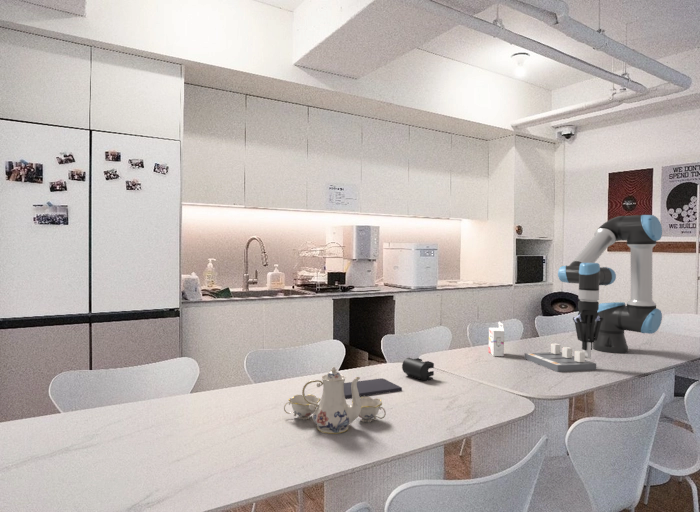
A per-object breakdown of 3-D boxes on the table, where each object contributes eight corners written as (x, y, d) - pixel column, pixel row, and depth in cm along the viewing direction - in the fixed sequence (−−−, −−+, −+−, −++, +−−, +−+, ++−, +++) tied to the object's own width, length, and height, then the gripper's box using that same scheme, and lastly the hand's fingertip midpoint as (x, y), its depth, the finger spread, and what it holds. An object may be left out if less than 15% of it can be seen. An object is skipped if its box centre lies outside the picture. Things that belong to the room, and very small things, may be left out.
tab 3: (579, 360, 197) (579, 350, 197) (584, 362, 194) (585, 352, 194) (574, 360, 196) (574, 350, 196) (579, 362, 193) (579, 352, 193)
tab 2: (567, 356, 204) (567, 346, 204) (572, 357, 201) (572, 348, 201) (562, 356, 203) (562, 347, 203) (566, 358, 200) (567, 348, 200)
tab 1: (555, 352, 211) (555, 343, 211) (560, 353, 208) (560, 344, 208) (550, 352, 211) (550, 343, 211) (555, 354, 208) (555, 344, 208)
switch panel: (559, 357, 214) (559, 351, 214) (596, 369, 193) (596, 363, 193) (524, 358, 210) (524, 352, 210) (557, 371, 188) (557, 365, 188)
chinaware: (382, 419, 138) (383, 361, 139) (389, 436, 121) (389, 369, 123) (285, 418, 137) (286, 360, 138) (278, 435, 120) (279, 368, 122)
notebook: (344, 400, 151) (401, 392, 160) (344, 395, 151) (402, 387, 160) (328, 389, 162) (382, 382, 172) (328, 384, 162) (382, 378, 172)
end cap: (401, 376, 178) (401, 358, 178) (415, 373, 183) (415, 356, 182) (420, 382, 170) (420, 363, 170) (434, 379, 174) (434, 361, 174)
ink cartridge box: (487, 352, 222) (488, 320, 222) (498, 352, 222) (499, 321, 222) (492, 356, 213) (493, 323, 213) (504, 357, 213) (504, 324, 213)
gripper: (595, 299, 200) (593, 355, 201) (568, 299, 197) (566, 356, 198) (608, 301, 193) (607, 359, 194) (581, 301, 190) (579, 360, 190)
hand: (586, 357), depth 196 cm, fingers closed
